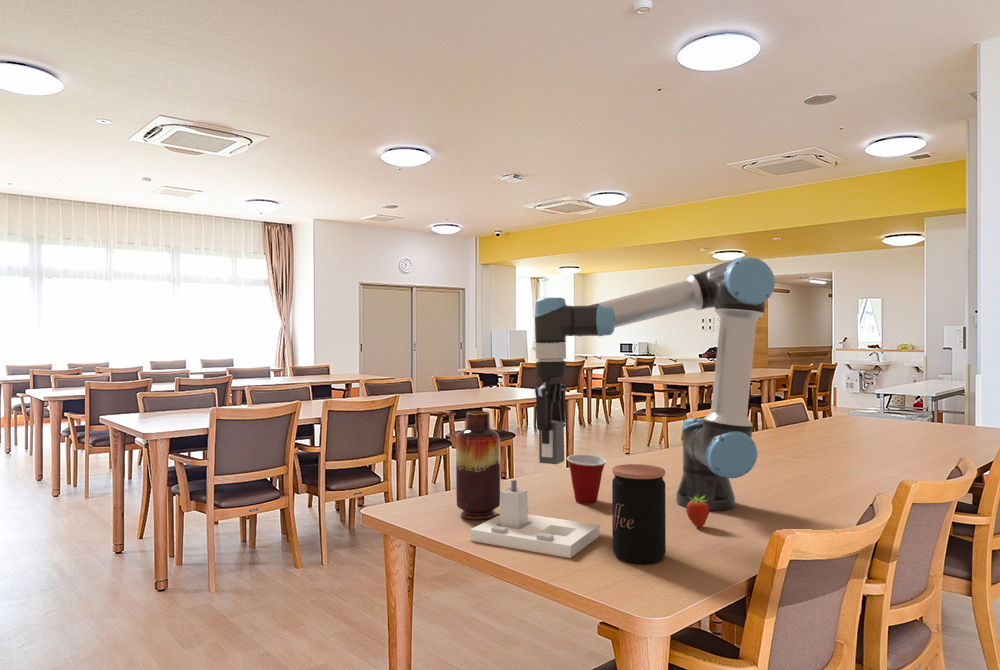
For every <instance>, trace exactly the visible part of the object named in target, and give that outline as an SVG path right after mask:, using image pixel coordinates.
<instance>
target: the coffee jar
mask: <svg viewBox="0 0 1000 670" xmlns="http://www.w3.org/2000/svg"><path fill="white" fill-rule="evenodd" d="M612 474H613V475H614V477H613V479H612V481H611V484H612V485H611V487H612V493H611V495H612V502H611V503H612V504H611V505H612V508H611V509H612V514H611V515H612V517H611V518H612V521H611V522H612V523H611V524H612V535H611V536H612V551H613V554H614V555H615V557H616V558H617V559H618V560H620V561H622V562H625V563H628V564H632V565H633V564H634V565H653V564H657V563H659V562H662V560H663V558H664V557H665V555H666V553H667V552H666V548H667V547H666V543H667V542H666V536H667V535H666V533H667V532H666V529H667V527H666V482H665V480H664V476H665V475H666V470H665V468H663V467H660V466H655V465H649V464H639V463H638V464H637V463H631V464H629V463H628V464H619V465H616V466H614V467H612Z"/></svg>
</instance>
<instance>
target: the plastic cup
mask: <svg viewBox="0 0 1000 670" xmlns="http://www.w3.org/2000/svg"><path fill="white" fill-rule="evenodd" d="M566 460H567V461H568V466H569V467H568V468H569V471H570V478H571V483H572V484H571V485H572V489H573V495H574V499H575V502H576V503H578V504H582V505H584V504H585V505H593V504H596V503H597V501H598V497H599V492H600V486H601V481H602V476H603V471H604V468H605V465H606V463H607V459H606V458H603V457H601V456H597V455H591V454H580V453H579V454H572V455H569V456H567V457H566Z"/></svg>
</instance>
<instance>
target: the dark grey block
mask: <svg viewBox="0 0 1000 670" xmlns="http://www.w3.org/2000/svg"><path fill="white" fill-rule="evenodd" d="M564 424H565V423H564V421H558V420H552V422H551V430H553V457H552V458H551V457H542V440H541V430H538V439H539V440H538V441H539V442H538V443H539V444H538V445H539V446H538V449H539V450H538V454H539V456H538V457H539V458H538V459H539V461H538V462H539V464H548V465H559V464H560V463H563V462H565V427H564Z"/></svg>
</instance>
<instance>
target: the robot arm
mask: <svg viewBox="0 0 1000 670" xmlns="http://www.w3.org/2000/svg"><path fill="white" fill-rule="evenodd" d="M775 284H776V279H775V275H774V272H773V270H772V268H770V266H769V264H767V263H766V262H765V261H763V260H762V259H759V258H756V257H752V256H751V257H750V256H749V257H738V258H735V259H733V260H729V261H726V262H721V263H719V264H718V265H715V266H713V267H711V268H708V269H706V270H704V271H701V272H698V273H694V274H691V275H689V276H687V278H686V280H682V281H680V282H674V283H671V284H667V285H663V286H659V287H656V288H652V289H647V290H644V291H640V292H636V293H633V294H632V293H631V294H629V295H624V296H621V297H617V298H613V299H609V300H605V301H601V302H597V303H595V304H594V303H593V304H589V305H567V303H566V299H565V298H564V297H540V298H538V299H536V300H535V305H534V307H535V308H534V332H535V333H534V336H535V343H534V344H535V346H534V351H535V359H536V360H537V361H536V362H535V376H536V377H538V378H541V379H540V386H539V387H535V388H534V392H535V393H534V394H535V401H536V403H535V404H536V406H535V408H536V409H535V410H536V429H537V430H538V431H539V430H541V440H542V457H551V458H552V457H553V430H551V422H552V420H558V421H564V428H565V427H566V417H567V416H566V415H567V414H566V391H567V384H565V383H564V384H563V383H562V379H561V378H562V377H565V376H566V375H567V362H566V361H565V359H566V358H567V343H566V342H567V341H566V338H567V337H595V336H597V337H602V336H604V337H605V336H611V335H612V334H613V333H614V331H615V329H616V328H619V327H623V326H626V325H631V324H634V323H638V322H639V323H640V322H642V321H646V320H650V319H655V318H658V317H662V316H667V315H670V314H674V313H679V312H682V311H685V310H690V309H694V310H696V311H701V310H705V309H709V308H710V309H711V308H714V312H715V313H717V315H718V316H719V319H720V320H719V328H718V338H717V339H718V340H717V349H716V357H715V366H714V367H715V369H714V378H713V388H712V394H711V395H712V396H711V405H710V407H711V408H710V412H709V414H707V415H706V416H704V417H703V418H687V419H684V420H683V422H682V423H683V424H682V431H681V432H682V466H683V467H682V476H681V479H680V481H679V485H678V488H677V491H676V503H677V504H678V505H680V506H682V507H685V508H686V507H687V504H688V503H689V502H690V501H691V500H692V499H690V498H694V496H696V497H697V494H698V498H701V497H702V496H704V495H705V497H704V498H703V499H702V500H707V501H705V502H706V503H707V504H708V506H709V511H725V510H731V509H734V508H736V496H735V493H734V490H733V487H732V484H731V481H730V479H736V478H737V479H738V478H741V477H743V476H746V475H747V474H748V473H750V472H751V471H752V469H753V468H754V466H755V465H756V463H757V459H758V448H757V445H756V443H755V441H754V439H753V438H752V436H753V427H754V426H753V425H754V424H753V423H752V421H750V420H749V417H748V409H749V400H750V390H751V381H752V380H751V379H752V370H753V360H754V359H753V358H754V351H755V343H756V342H755V340H756V330H757V329H756V328H757V321H758V320H759V319H760V318H762V317H763V316H764V315H765V308H766V301H767V300H768V299H769V298H771V296H772V295H773V292H774V291H775V286H776V285H775ZM689 497H690V498H689ZM694 499H695V498H694Z"/></svg>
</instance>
